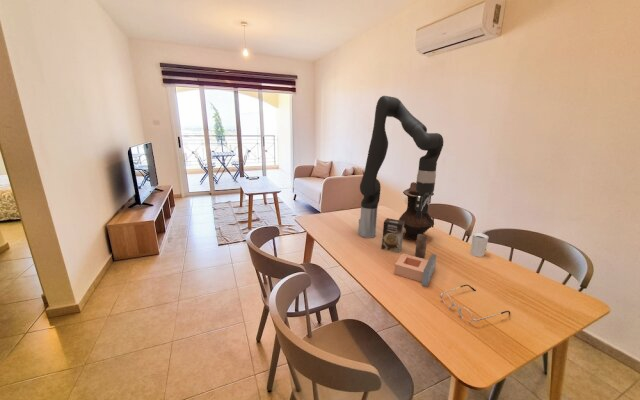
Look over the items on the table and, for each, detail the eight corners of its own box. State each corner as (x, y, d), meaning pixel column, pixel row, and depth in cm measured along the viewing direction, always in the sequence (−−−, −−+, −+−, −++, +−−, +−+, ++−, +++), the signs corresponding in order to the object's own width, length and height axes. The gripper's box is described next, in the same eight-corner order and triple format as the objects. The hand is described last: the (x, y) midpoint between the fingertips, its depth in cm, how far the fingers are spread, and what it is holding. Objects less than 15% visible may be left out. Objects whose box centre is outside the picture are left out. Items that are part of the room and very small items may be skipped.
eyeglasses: (435, 300, 96) (437, 288, 95) (472, 289, 102) (474, 278, 101) (473, 330, 82) (476, 317, 80) (514, 316, 88) (517, 303, 87)
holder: (393, 273, 110) (394, 264, 109) (401, 262, 119) (402, 253, 118) (422, 282, 104) (423, 272, 103) (428, 269, 113) (429, 260, 112)
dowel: (413, 259, 124) (416, 236, 121) (415, 255, 128) (418, 233, 124) (423, 262, 122) (426, 238, 119) (425, 258, 125) (428, 235, 122)
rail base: (373, 273, 113) (374, 256, 110) (385, 257, 126) (386, 242, 123) (432, 291, 100) (434, 273, 98) (439, 272, 113) (441, 256, 111)
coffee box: (380, 251, 132) (383, 221, 128) (384, 246, 138) (386, 217, 133) (399, 255, 128) (402, 224, 124) (401, 250, 134) (404, 220, 129)
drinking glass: (487, 258, 126) (491, 239, 123) (472, 256, 127) (475, 237, 125) (481, 251, 132) (485, 233, 130) (467, 250, 134) (470, 232, 131)
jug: (437, 244, 140) (445, 190, 132) (402, 243, 141) (408, 189, 132) (423, 229, 161) (429, 181, 152) (393, 229, 161) (397, 181, 153)
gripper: (422, 177, 121) (418, 210, 125) (411, 182, 110) (407, 218, 115) (439, 179, 117) (434, 213, 121) (429, 184, 106) (425, 222, 110)
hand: (421, 215), depth 118 cm, fingers open, 8 cm apart
